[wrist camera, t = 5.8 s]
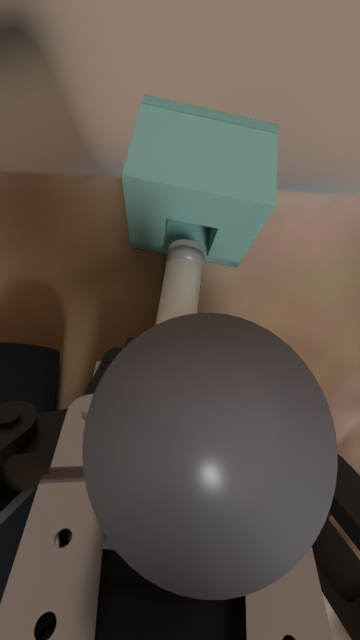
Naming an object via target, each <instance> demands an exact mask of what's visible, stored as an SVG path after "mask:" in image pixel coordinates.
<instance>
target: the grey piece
mask: <svg viewBox="0 0 360 640" xmlns="http://www.w3.org/2000/svg"><path fill="white" fill-rule="evenodd" d="M204 254H205V250H204V248H203V246H202V245H201V244H199V243H197V242H195V241H193V240H188V239H180V240H176V241H174V242H172V243H171V244H170V247H169V251H168V254H167V259H166V265H165V267H166V269H165V274H164V280H163V285H162V291H161V296H160V302H159V308H158V313H157V319H156V324H155V326H153V327H151V328H150V329H148V330H146V331H144V332H143V333H141V334H140V335H139V336H137V337H136V338H135V339H134V340H132V341H131V342H130V343H129V344H128V345H127V346H126V347H125V348H124V349H123V350H122V351H121V352H120V353H119V354H118V355H117V356H116V358H115V359H114V360H113V361H112V363H111V364H110V365H109V366H108V368H107V370H106V371H105V373H104V375H103V376H102V378H101V380H100V381H99V384H98V386H97V388H96V390H95V393H94V395H93V397H92V400H91V403H90V406H89V410H88V413H87V417H86V422H85V428H84V434H83V450H82V457H83V471H84V478H85V483H86V488H87V493H88V497H89V500H90V503H91V506H92V509H93V512H94V515H95V517H96V519H97V521H98V523H99V525H100V527H101V529H102V531H103V533H104V534H105V536H106V537H107V539H108V540H109V542H110V543H111V545H112V546H113V548H114V549H115V551H116V552H117V553H118V554H119V555H120V556H121V557H122V558H123V559H124V560H125V561H126V563H127V564H128V565H129V566H130V567H132V568H133V569H134V570H135V571H137V572H138V573H139V574H140V575H141V576H143V577H144V578H145V579H147V580H148V581H150V582H152V583H154V584H155V585H157V586H159V587H161V588H162V589H165V590H167V591H170V592H173V593H175V594H178V595H181V596H185V597H190V598H195V599H201V600H225V599H231V598H237V597H242V596H245V595H248V594H251V593H254V592H257V591H259V590H261V589H263V588H265V587H267V586H269V585H270V584H272V583H274V582H276V581H277V580H279V579H280V578H281V577H283V576H284V575H285V574H286V573H288V572H289V571H290V570H292V568H293V567H294V566H295V565H296V564H297V563H298V562H299V561H300V560H301V559H302V558H303V557H304V556H305V555H306V553H307V552H308V550H309V549H310V548H311V546H312V545H313V543H314V542H315V541H316V539H317V537H318V535H319V533H320V531H321V529H322V527H323V525H324V524H325V521H326V518H327V515H328V513H329V510H330V507H331V504H332V500H333V496H334V491H335V487H336V478H337V469H338V451H337V442H336V433H335V429H334V424H333V420H332V416H331V413H330V410H329V407H328V404H327V401H326V399H325V396H324V394H323V392H322V390H321V388H320V386H319V384H318V382H317V381H316V379H315V377H314V376H313V374H312V372H311V371H310V369H309V368H308V367H307V365H306V364H305V363H304V361H303V360H302V359H301V358H300V357H299V356H298V355H297V353H296V352H295V351H294V350H293V349H292V348H291V347H290V346H289V345H287V344H286V343H285V342H284V341H283V340H281V339H280V338H279V337H278V336H276V335H275V334H273V333H272V332H270V331H269V330H267V329H265V328H263V327H261V326H259V325H257V324H255V323H253V322H250V321H248V320H245V319H242V318H239V317H235V316H231V315H227V314H218V313H197V310H198V302H199V294H200V286H201V278H202V273H203V268H204V260H205V256H204Z"/></svg>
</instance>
